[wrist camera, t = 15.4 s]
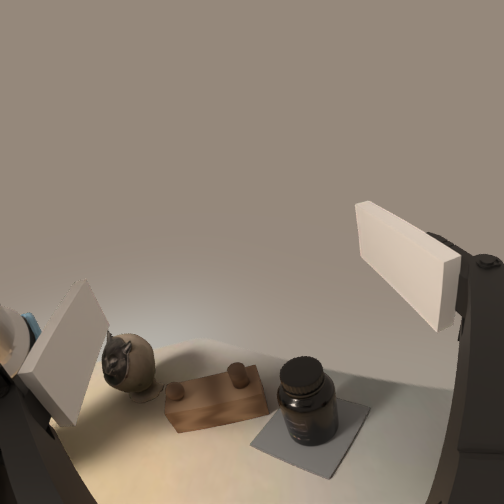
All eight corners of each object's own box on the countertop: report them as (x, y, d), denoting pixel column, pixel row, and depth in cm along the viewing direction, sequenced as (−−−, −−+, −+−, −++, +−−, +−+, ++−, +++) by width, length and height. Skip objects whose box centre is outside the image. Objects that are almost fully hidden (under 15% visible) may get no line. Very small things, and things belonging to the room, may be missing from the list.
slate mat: (250, 445, 38) (249, 444, 38) (296, 387, 46) (296, 385, 46) (329, 479, 30) (329, 478, 30) (370, 408, 38) (370, 407, 38)
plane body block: (178, 433, 42) (155, 400, 39) (178, 404, 47) (159, 371, 44) (269, 414, 42) (257, 379, 39) (262, 385, 48) (250, 350, 45)
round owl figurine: (111, 405, 49) (156, 413, 46) (76, 357, 44) (121, 361, 41) (134, 368, 58) (178, 371, 55) (106, 321, 53) (150, 319, 50)
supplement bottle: (309, 401, 42) (297, 341, 37) (348, 420, 37) (345, 360, 32) (277, 433, 38) (257, 377, 34) (317, 457, 33) (306, 404, 29)
